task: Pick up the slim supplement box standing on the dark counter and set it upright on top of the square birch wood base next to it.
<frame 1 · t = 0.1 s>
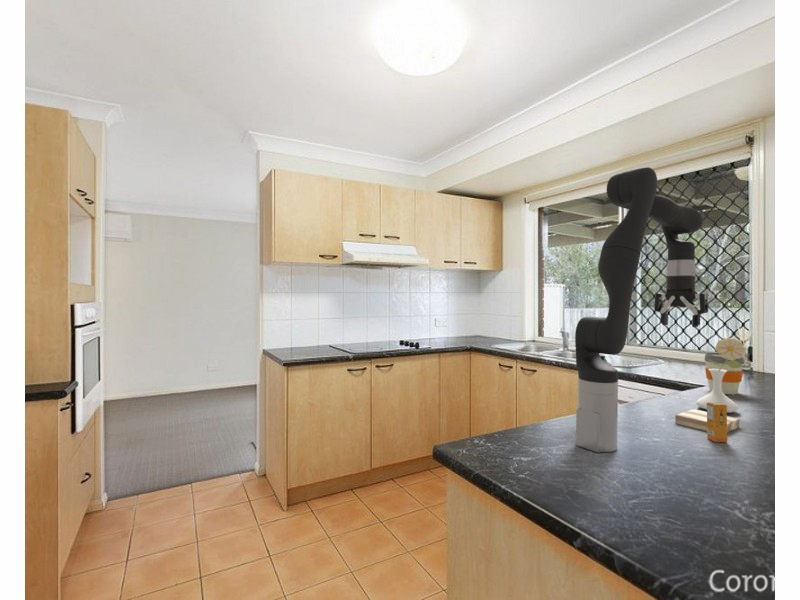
hand: (679, 326, 130), 29 cm above the counter, tool pointing down, fingers open, 8 cm apart
flower in vase: (719, 411, 138), on the counter
supplement box: (716, 441, 110), on the counter
birch base: (706, 425, 123), on the counter
spray can: (601, 420, 128), on the counter
reusable coffee cup: (723, 392, 165), on the counter
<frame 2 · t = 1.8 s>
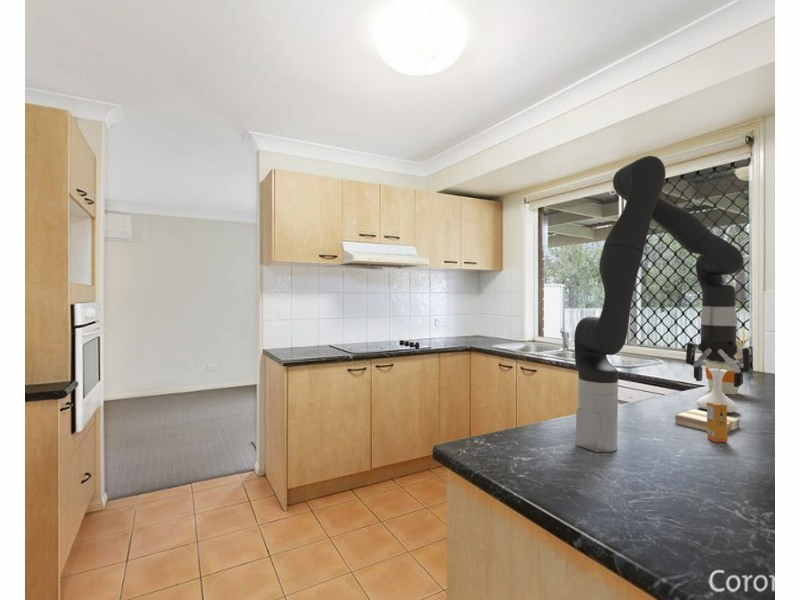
hand: (717, 383, 110), 15 cm above the counter, tool pointing down, fingers open, 8 cm apart
nothing on the counter moved.
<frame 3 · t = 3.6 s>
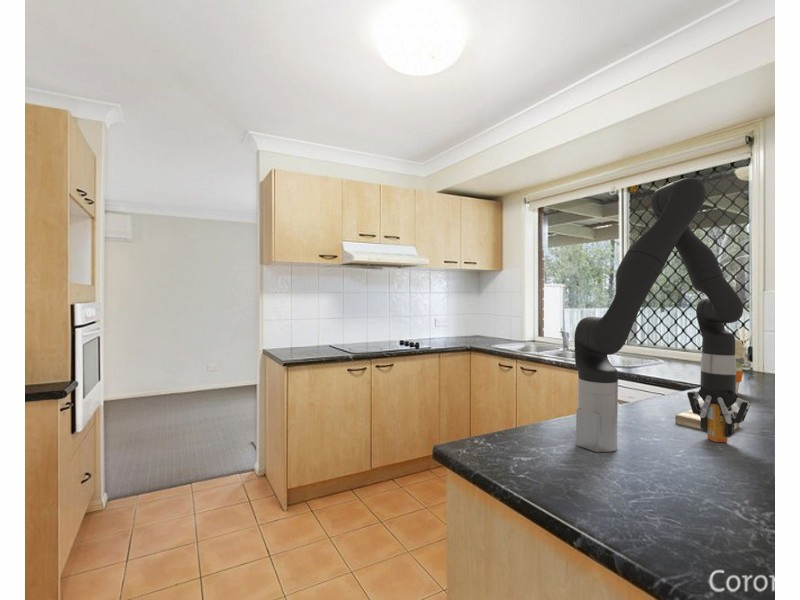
hand: (717, 433, 110), 2 cm above the counter, tool pointing down, fingers closed on supplement box, 4 cm apart
supplement box: (716, 441, 110), on the counter, touching gripper
everything else where it was.
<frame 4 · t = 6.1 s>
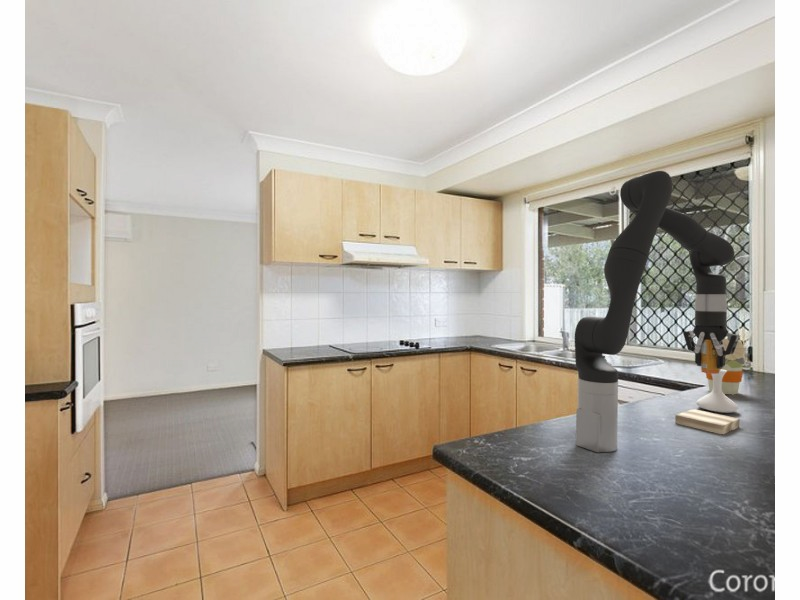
hand: (709, 366, 122), 18 cm above the counter, tool pointing down, fingers closed on supplement box, 4 cm apart
supplement box: (709, 373, 122), point 16 cm above the counter, touching gripper
everything else where it was.
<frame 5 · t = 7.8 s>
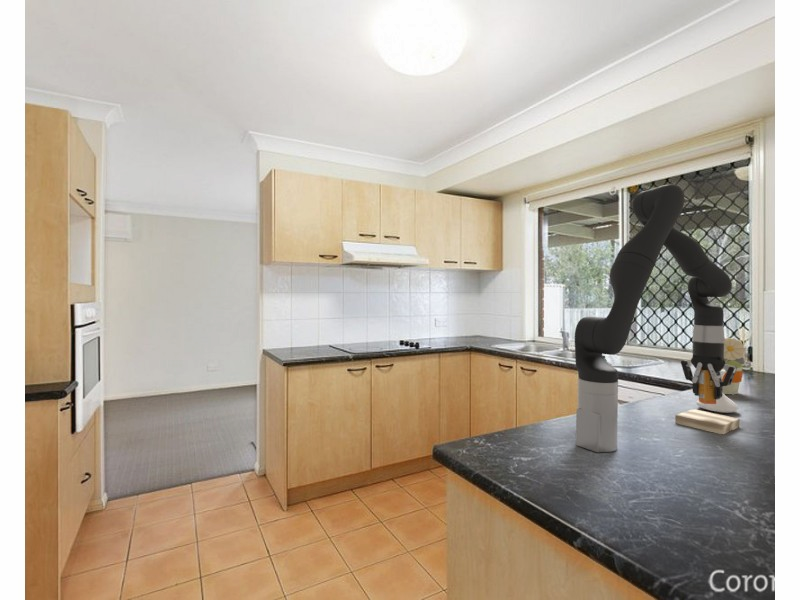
hand: (707, 396, 123), 8 cm above the counter, tool pointing down, fingers closed on supplement box, 4 cm apart
supplement box: (706, 403, 123), point 6 cm above the counter, touching gripper
everything else where it was.
when the fingers open (5 cm above the counter, at t = 8.9 s): supplement box stays where it is, resting on birch base.
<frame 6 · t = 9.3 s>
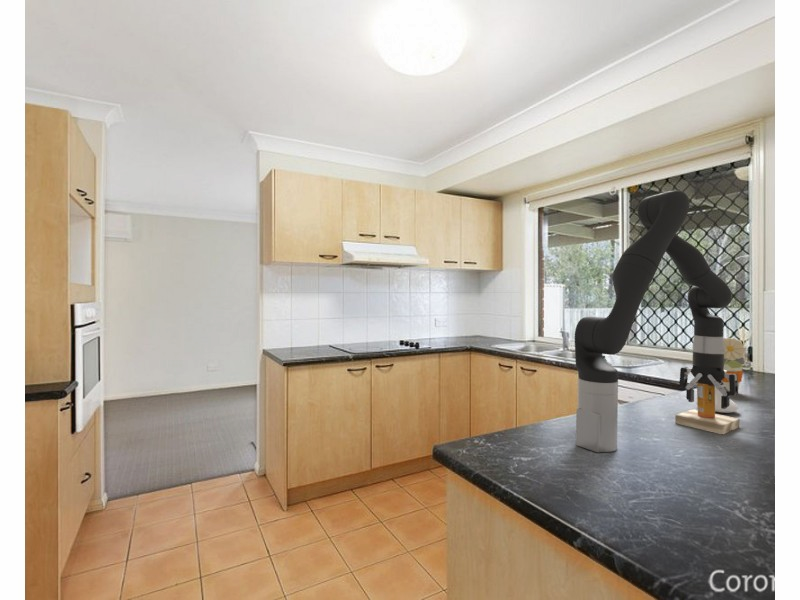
hand: (707, 404, 123), 6 cm above the counter, tool pointing down, fingers open, 8 cm apart
supplement box: (705, 417, 123), point 2 cm above the counter, touching birch base
everything else where it was.
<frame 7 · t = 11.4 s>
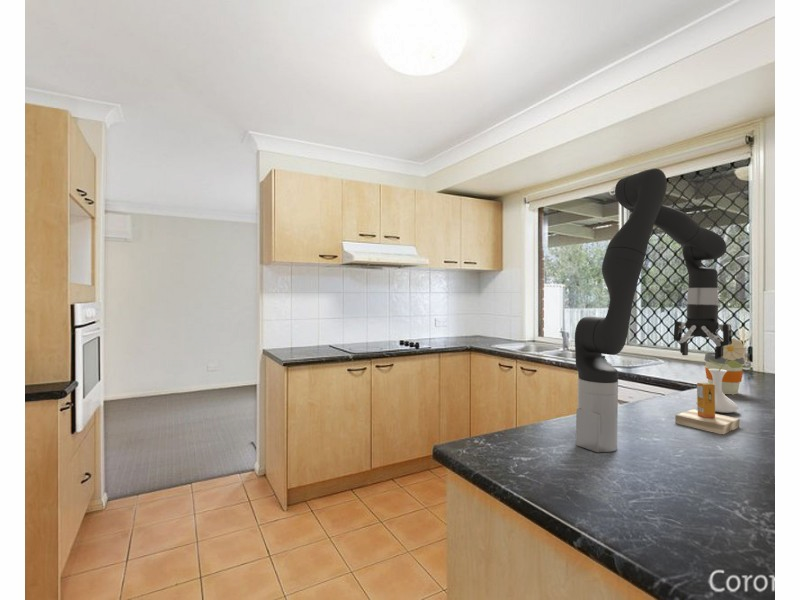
hand: (701, 357, 123), 20 cm above the counter, tool pointing down, fingers open, 8 cm apart
nothing on the counter moved.
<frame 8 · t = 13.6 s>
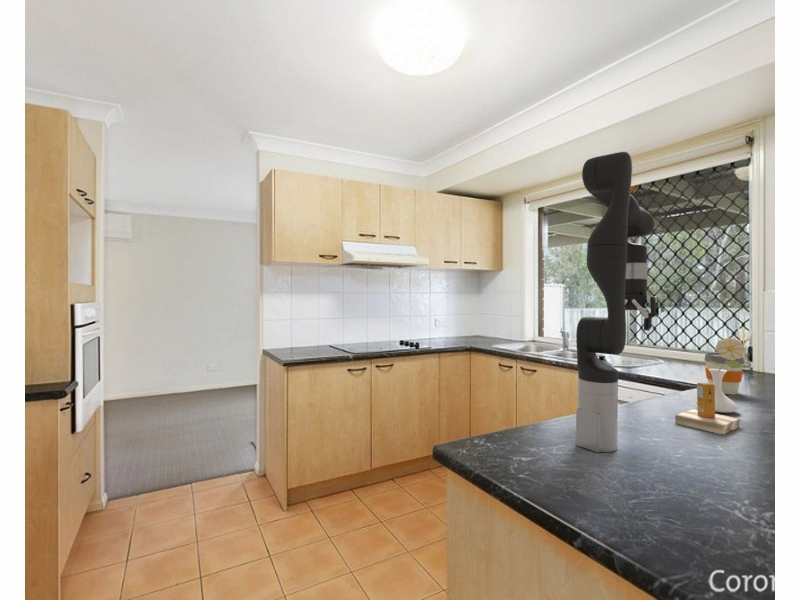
hand: (632, 329, 129), 28 cm above the counter, tool pointing down, fingers open, 8 cm apart
nothing on the counter moved.
at the end: supplement box inside the target area on the birch base (0.3 cm from its centre), point 2.3 cm above the birch base's base; supplement box tilted 0° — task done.
